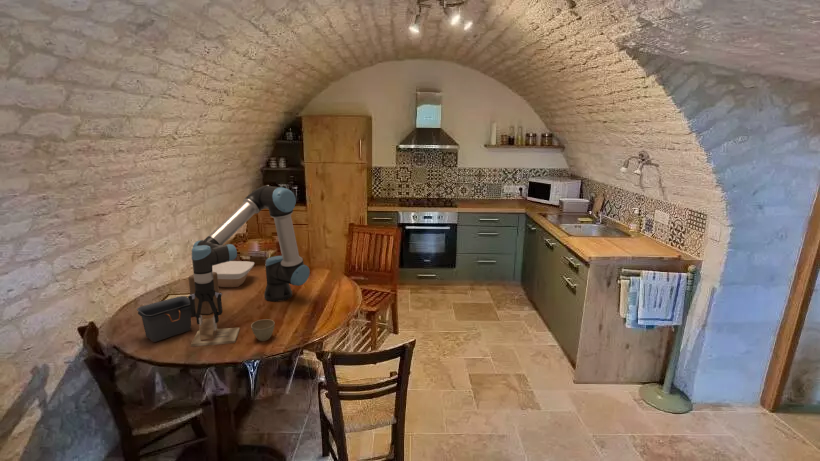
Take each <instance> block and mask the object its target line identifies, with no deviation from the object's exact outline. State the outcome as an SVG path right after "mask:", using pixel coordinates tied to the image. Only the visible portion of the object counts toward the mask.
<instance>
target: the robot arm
mask: <svg viewBox="0 0 820 461" xmlns="http://www.w3.org/2000/svg"><path fill="white" fill-rule="evenodd" d="M242 201H243V202H242V203H241V204H240V205H239V206H238V207H237V208H236V209H235V210H234V211H233V212H232V213H231V214H230V215H228V217H226V219H225V220H224V221H222V223H220V225H218V226H217V227H216V228H215V229H214V230H213V231H212V232H211V233H209V235H208V236H206V238H204V239H202V240H197V241H195V242H194V244H193V245H192V248H191V262H192V271H193V274H194V281H195V294H190V293H189V295H188V296H187V297H188V298H189V300H190V306H191V318H196V319H195V320H196V324H197V325H199V327H200V326H201V324H202V322H203V320H204V319H203V315H201V314H200V313H201V308H202V303H203V302H204V301H207V302H209V304H210V306H211V309H212V311H213V312H212V313H213V316H212V318H213V326H214V331H216V329H218V323H219V320H220V319H219V316H221V315H222V314H223V305H222V295H223V293H222V291H219V293H217V292H216V291H215V290H214V281H213V270H212V266H213V265H217V264H221V263H225V262H229V261H235V260H236V258H238V257H237V256H238V251H237V250H238V249H237V248H236V246H235V245H234V244H232V243H230V244H225V243H226V242H227V241H228V240H229V239H230V238H232V236H233V235H234V234H235V233H236V232H238V231H239V229H240V228H242V226H244V224H246V223H247V222H248V221H249V220H250V219H251V218H252V217H253V216H254V215H255V214H259V213H260V212H261V211H262V210H264V209H267V210H268V213H269V216H270V217H271V218H273V220H274V225H275V231H276V234H277V240H278V244H279V247H280V248H279V249H280V253H281V255H276V256H271V257H269V258H266V260H265V266H264V267H265V276H266V286H265V289H264V290H265V291H264V292H263V294H264V295H263V296H264V300H266V301H267V302H283V301H286V300H289V299H290V298H292V297H293V291H292V288H291V286H290V285H292V286H298V287H299V286H302V285H304V284H305V283H306V282H307V280H308V279H309V276H310V271H311V270H310V268H309V266H308V265H306V264H304V260H303V257H302V256H300V253H299V247H298V244H297V243H298V242H297V238H296V234H295V233H296V232H295V229H294V225H293V224H294V223H293V219H292V215H293V213H294V209H295V207H296V206H295V205H297V204H296V203H297V199H296V195H295V193H294V192H293V191H292V190H290V189H289V188H286V187H283V186H282V187H281V186H271V185H270V186H269V185H262V186H261V187H258V188H256V189H255V190H252V192H251V193H249V194H248V195H247V196H246V197H245V198H244V199H243V200H242ZM214 295H216V298H217V304H218V309H217V308H216V306H215V303H214V301H213V297H214ZM195 296H196V297H197V298H198V299H199V303H198V309H197V313H196V311H195V300H194V298H195Z"/></svg>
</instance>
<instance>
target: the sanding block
mask: <svg viewBox="0 0 820 461" xmlns="http://www.w3.org/2000/svg"><path fill="white" fill-rule="evenodd" d="M202 320H203V322H202V324H201V326H200V325H199V327H198V328H199V330H200V339H201V341H208V340H213V339H214V337H215V335H216V333H217V329H218V328H217V329H216V331H214V326H213V317H211V318H210V317H209V318H208V317H207V318H204V319H202Z"/></svg>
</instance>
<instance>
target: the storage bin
mask: <svg viewBox="0 0 820 461" xmlns="http://www.w3.org/2000/svg"><path fill="white" fill-rule="evenodd" d="M188 297H189V296H184V295H182V296H176V297H171V298H169V299H165V300H164V299H163V300H161V301H160V300H159V301H157V302H153V303H148V304H144V305H141V306H139V307H137V308H136V311H137V314H138V315H139V316H140V317H141V320H142V325H143V328H144V334H145V337H146V338H147V339H149V340H150V341H152V342H153V343H156V342H157V343H158V342H159V341H162V340H165V339H168V338H171V337H174V336H177V335H180V334H183V333H187V332H189V331H191V329H192V316H191V306H190V300H189V298H188Z"/></svg>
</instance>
